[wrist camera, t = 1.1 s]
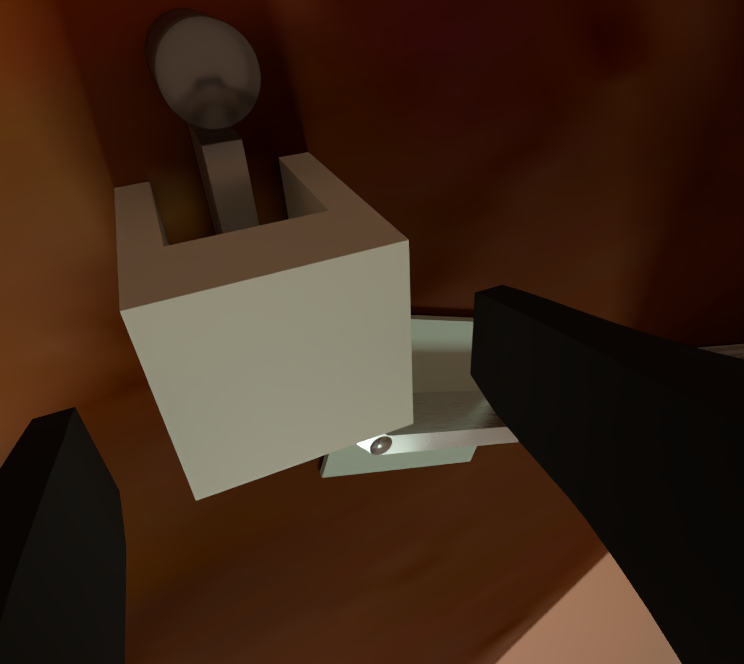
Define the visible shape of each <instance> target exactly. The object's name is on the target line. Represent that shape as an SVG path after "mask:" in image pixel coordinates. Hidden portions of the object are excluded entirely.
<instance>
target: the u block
mask: <svg viewBox="0 0 744 664" xmlns="http://www.w3.org/2000/svg"><path fill="white" fill-rule="evenodd" d="M279 164H280V170H281V176H282V182H283V188H284V194H285V200H286V206H287V213H288V220H283V221H279V222H274V223H270V224H265V225H261V226H256V227H251V228H247V229H242V230H238V231H233V232H229V233H224V234H220V235H215V236H210V237H206V238H201V239H197V240H192V241H188V242H183V243H178V244H174V245H169V243H168V240H167V237H166V234H165V230H164V227H163V224H162V221H161V218H160V214H159V211H158V208H157V205H156V201H155V198H154V195H153V192H152V189H151V185H150V182H144V183H138V184H133V185H127V186H122V187H116V188H114V197H115V218H116V239H117V261H118V282H119V303H120V313H121V315H122V318H123V320H124V323H125V325H126V328H127V330H128V333H129V335H130V338H131V340H132V343H133V345H134V348H135V350H136V353H137V355H138V357H139V360H140V362H141V365H142V367H143V370H144V372H145V375H146V377H147V380H148V382H149V385H150V387H151V390H152V392H153V395H154V397H155V400H156V402H157V405H158V407H159V410H160V412H161V415H162V417H163V420H164V422H165V425H166V427H167V430H168V432H169V435H170V437H171V440H172V442H173V445H174V447H175V450H176V452H177V455H178V457H179V459H180V462H181V464H182V467H183V469H184V472H185V474H186V477H187V479H188V482H189V484H190V487H191V489H192V492H193V494H194V497H195V499H196V500H199V499H202V498H205V497H208V496H211V495H213V494H216V493H219V492H222V491H225V490H227V489H230V488H233V487H236V486H239V485H242V484H244V483H247V482H250V481H253V480H256V479H258V478H261V477H264V476H267V475H270V474H273V473H275V472H278V471H281V470H284V469H287V468H290V467H292V466H295V465H298V464H301V463H304V462H306V461H309V460H312V459H315V458H318V457H321V456H323V455H326V454H329V453H332V452H335V451H337V450H340V449H343V448H346V447H349V446H352V445H354V444H357V443H360V442H363V441H366V440H368V439H371V438H374V437H377V436H380V435H383V434H385V433H388V432H391V431H394V430H397V429H399V428H402V427H405V426H408V425H411V424H413V390H412V350H411V311H410V272H409V240H408V239H407V238H406V237H405V236H404V235H402V234H401V233H400V232H399V231H398V230H397V229H396V228H394V227H393V226H392V225H391V224H390V223H389V222H388V221H386V220H385V219H384V218H383V217H382V216H381V215H380V214H378V213H377V212H376V211H375V210H374V209H373V208H372V207H370V206H369V205H368V204H367V203H366V202H365V201H364V200H362V199H361V198H360V197H359V196H358V195H357V194H356V193H354V192H353V191H352V190H351V189H350V188H349V187H348V186H346V185H345V184H344V183H343V182H342V181H341V180H340V179H338V178H337V177H336V176H335V175H334V174H333V173H332V172H330V171H329V170H328V169H327V168H326V167H325V166H324V165H322V164H321V163H320V162H319V161H318V160H317V159H315V158H314V157H313V156H312V155H311V154H310V153H309V152H306V153H301V154H295V155H290V156H284V157H279Z"/></svg>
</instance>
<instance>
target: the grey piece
mask: <svg viewBox="0 0 744 664" xmlns="http://www.w3.org/2000/svg"><path fill="white" fill-rule="evenodd" d="M145 52H146V59H147V63H148V65H149V68H150V70H151V72H152V74H153V77H154V79H155V81H156V83H157V85H158V87H159V89H160V91H161V93H162V95H163V97H164V99H165V101H166V102H167V103H168V105H169V106H170V107H171V109H172V110H173V111H174V112H175V113H176V114H177V115H178V116H180V117H181V118H182V119H184V120H185V121H187V123H188V127H189V131H190V135H191V139H192V143H193V147H194V151H195V155H196V159H197V163H198V166H199V170H200V174H201V178H202V182H203V186H204V190H205V194H206V198H207V202H208V206H209V210H210V214H211V218H212V222H213V226H214V230H215V234H216V235H220V234H224V233H229V232H233V231H238V230H242V229H247V228H251V227H256V226H259V222H258V217H257V212H256V207H255V202H254V197H253V192H252V187H251V182H250V177H249V172H248V167H247V162H246V157H245V152H244V147H243V142H242V139H241V137H240V136H239V135H238V134H237V133H236V131H235V130H234V129H233V128H232V127H231V126H232V125H234V124H236V123H238V122H239V121H241V120H242V119H243V118H245V117H246V116H247V115H248V113H249V112H250V111H251V110H252V108H253V107H254V105H255V103H256V101H257V98H258V95H259V91H260V83H261V74H260V67H259V64H258V60H257V57H256V55H255V53H254V51H253V49H252V47H251V45H250V44H249V43H248V41H247V40H246V39H245V38H244V36H243V35H242V34H241V33H240V32H238V31H237V30H236V29H235V28H233V27H232V26H230V25H228V24H227V23H225V22H222V21H220V20H217V19H215V18H213V17H210V16H208V15H205V14H203V13H200V12H198V11H195V10H191V9H183V8H181V9H174V10H170V11H168V12H165V13H164V14H162V15H160V16H159V17H158V18H157V19H156V20H155V21H154V22H153V24H152V25H151V27H150V29H149V31H148V34H147V37H146V44H145ZM512 442H518V439H517V438H516V437H515V436H514V435H513V433H512V432H511V431H510V430H509V429H508V428H507V426H506V425H505V424H504V423H503V422H502V420H501V419H500V418H499V417H498V416H497V414H496V413H495V412H494V410H493V409H492V407H491V406H490V404H489V403H488V401H487V400H486V398H485V397H484V395H483V394H482V392H481V391H451V392H422V393H413V424H411V425H408V426H405V427H402V428H399V429H397V430H394V431H391V432H388V433H385V434H383V435H380V436H377V437H374V438H371V439H368V440H366V441H363V442H360V443H357V445H359V446H361V447H362V448H364V449H365V450H367V451H369V452H370V453H372V454H373V455H384V454H395V453H405V452H416V451H427V450H437V449H448V448H459V447H469V446H480V445H491V444H501V443H512Z"/></svg>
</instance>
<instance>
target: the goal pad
mask: <svg viewBox="0 0 744 664" xmlns="http://www.w3.org/2000/svg"><path fill="white" fill-rule="evenodd" d="M472 334H473V318H468V317H445V316H423V315H411V350H412V390H413V393H422V392H451V391H480V389H479V387H478V386H477V384H476V383H475V381H474V379H473V378H472V376H471V375H470V368H471V351H472ZM476 447H477V446H469V447H459V448H448V449H437V450H427V451H416V452H405V453H395V454H384V455H373V454H372V453H370V452H369V451H367V450H365V449H364V448H362V447H361V446H359V445H357V444H354V445H352V446H349V447H346V448H343V449H340V450H337V451H335V452H332V453H329V454H326V455H324V459H323V462H322V466H321V469H320V474H321V476H322V478H323V477H332V476H341V475H351V474H360V473H369V472H378V471H387V470H396V469H405V468H414V467H423V466H432V465H442V464H451V463H460V462H469V461H470V460H471V458H472V456H473V454H474V451H475V449H476Z"/></svg>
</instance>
